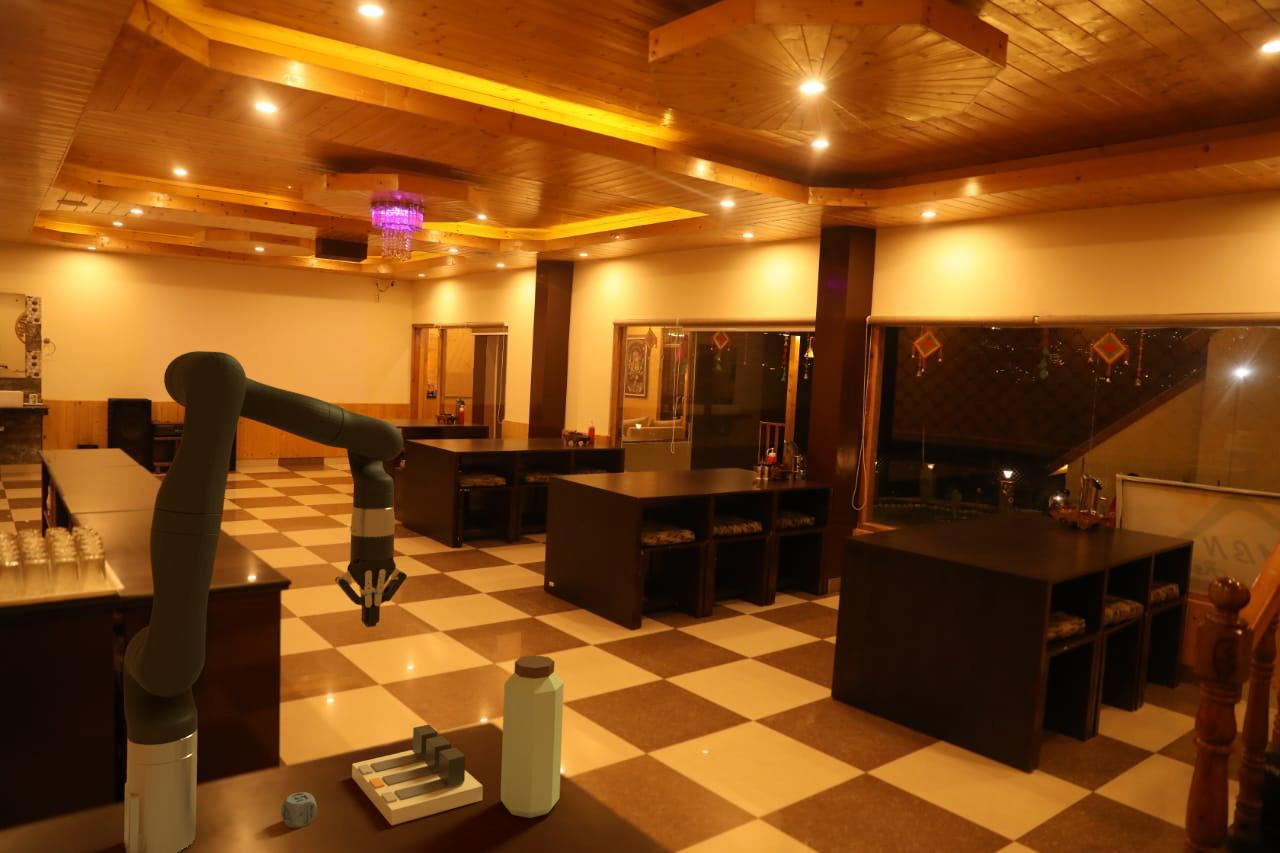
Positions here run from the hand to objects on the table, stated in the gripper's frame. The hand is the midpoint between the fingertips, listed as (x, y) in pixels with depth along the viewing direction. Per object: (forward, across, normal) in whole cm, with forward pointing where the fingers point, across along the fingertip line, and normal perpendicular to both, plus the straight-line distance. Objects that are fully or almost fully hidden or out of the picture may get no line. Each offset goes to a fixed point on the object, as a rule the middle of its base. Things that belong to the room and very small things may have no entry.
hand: (370, 625), depth 154 cm
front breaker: (+24, +9, -17) cm, 31 cm away
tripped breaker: (+24, +9, -11) cm, 28 cm away
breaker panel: (+27, +5, -11) cm, 30 cm away
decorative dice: (+27, -15, -12) cm, 33 cm away
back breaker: (+24, +9, -5) cm, 26 cm away
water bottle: (+27, +19, -27) cm, 43 cm away
